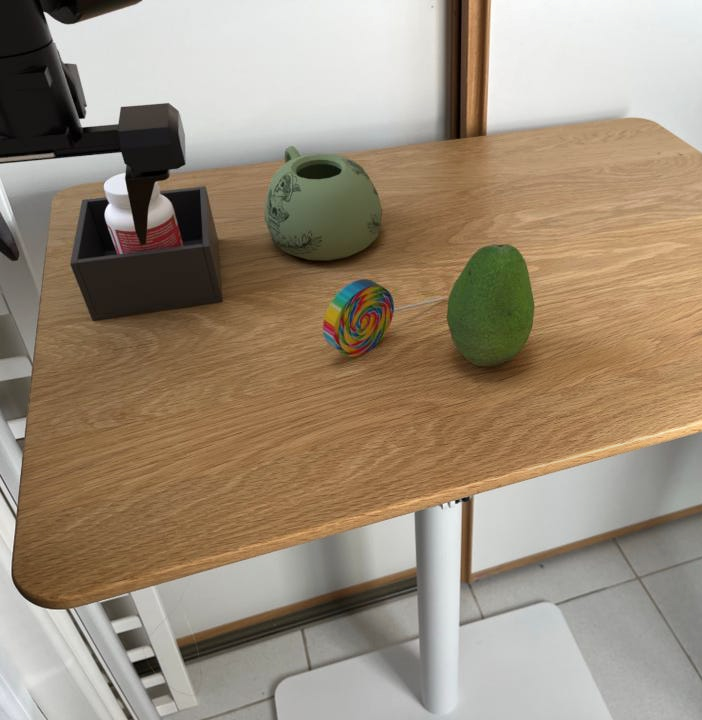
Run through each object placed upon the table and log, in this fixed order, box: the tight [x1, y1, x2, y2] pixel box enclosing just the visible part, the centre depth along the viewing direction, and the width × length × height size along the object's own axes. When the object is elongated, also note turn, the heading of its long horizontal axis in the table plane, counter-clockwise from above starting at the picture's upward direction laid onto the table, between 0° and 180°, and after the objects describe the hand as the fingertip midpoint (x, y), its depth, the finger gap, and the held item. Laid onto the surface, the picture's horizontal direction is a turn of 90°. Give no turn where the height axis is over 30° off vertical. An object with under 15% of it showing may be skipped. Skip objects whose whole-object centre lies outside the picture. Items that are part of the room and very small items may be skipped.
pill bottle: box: [103, 172, 184, 254], centre depth 73 cm, size 6×6×11 cm
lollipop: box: [322, 278, 446, 358], centre depth 71 cm, size 7×2×15 cm
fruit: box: [446, 243, 535, 368], centre depth 66 cm, size 8×8×12 cm
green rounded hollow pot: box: [264, 145, 383, 262], centre depth 83 cm, size 16×13×9 cm
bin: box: [69, 186, 224, 321], centre depth 76 cm, size 12×12×7 cm
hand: (81, 250), depth 58 cm, fingers open, 9 cm apart
